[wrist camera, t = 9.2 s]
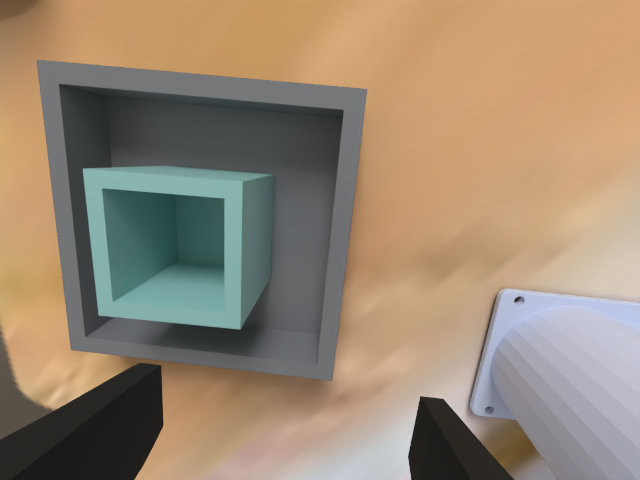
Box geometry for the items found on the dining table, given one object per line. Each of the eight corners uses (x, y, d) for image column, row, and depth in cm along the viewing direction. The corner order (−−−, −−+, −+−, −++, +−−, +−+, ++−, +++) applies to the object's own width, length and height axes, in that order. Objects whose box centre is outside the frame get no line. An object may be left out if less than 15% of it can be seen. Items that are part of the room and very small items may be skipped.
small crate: (275, 174, 16) (242, 181, 10) (271, 276, 17) (240, 329, 12) (168, 165, 16) (82, 168, 11) (172, 267, 17) (98, 315, 12)
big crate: (360, 104, 15) (367, 89, 12) (333, 340, 19) (332, 380, 15) (101, 81, 16) (36, 59, 12) (118, 316, 19) (71, 349, 16)
